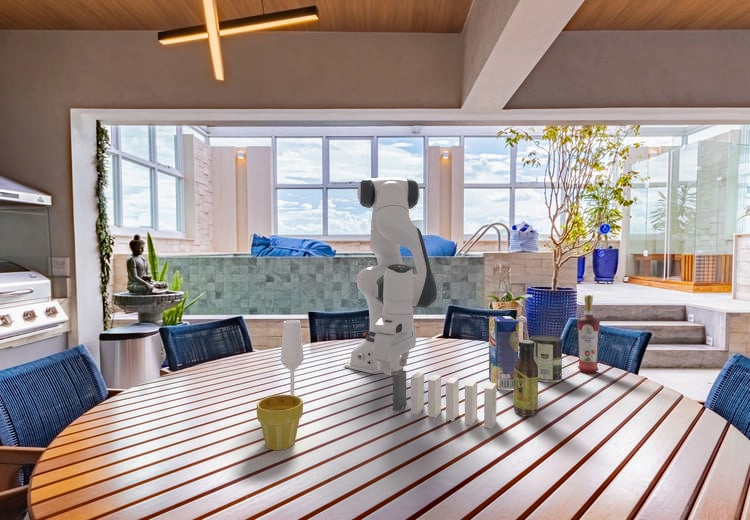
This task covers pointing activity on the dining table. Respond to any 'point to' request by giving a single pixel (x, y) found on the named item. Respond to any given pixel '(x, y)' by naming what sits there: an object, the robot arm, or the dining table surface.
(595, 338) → the liquor
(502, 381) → the beverage box
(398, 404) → the domino
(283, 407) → the plant pot
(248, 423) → the dining table surface
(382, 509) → the dining table surface
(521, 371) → the sauce bottle
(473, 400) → the domino
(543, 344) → the coffee can
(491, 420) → the domino
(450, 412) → the domino
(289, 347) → the champagne flute
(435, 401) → the domino
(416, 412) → the domino
